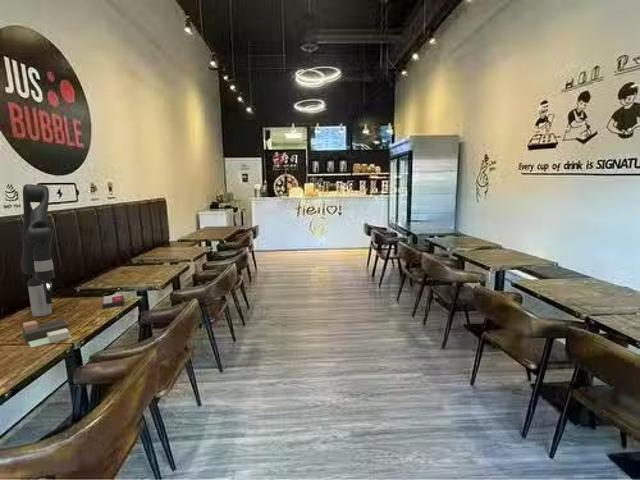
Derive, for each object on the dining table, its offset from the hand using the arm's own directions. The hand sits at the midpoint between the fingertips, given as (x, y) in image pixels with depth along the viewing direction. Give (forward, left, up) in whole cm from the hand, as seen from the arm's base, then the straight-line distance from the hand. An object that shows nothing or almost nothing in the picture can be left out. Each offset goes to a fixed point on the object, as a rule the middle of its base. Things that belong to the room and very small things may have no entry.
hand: (49, 303), depth 198 cm
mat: (+12, -3, -15) cm, 19 cm away
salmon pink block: (0, -9, -11) cm, 14 cm away
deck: (+1, -3, -15) cm, 15 cm away
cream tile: (+13, 0, -11) cm, 17 cm away
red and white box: (-27, +35, -15) cm, 47 cm away
